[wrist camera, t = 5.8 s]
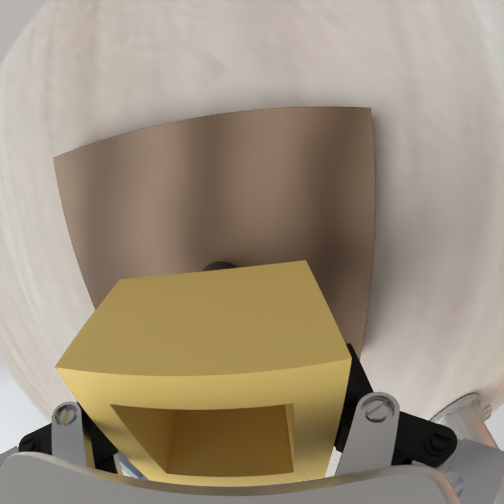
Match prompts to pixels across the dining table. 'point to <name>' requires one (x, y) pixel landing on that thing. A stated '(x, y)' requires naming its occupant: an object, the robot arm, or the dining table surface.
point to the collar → (215, 375)
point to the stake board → (230, 201)
